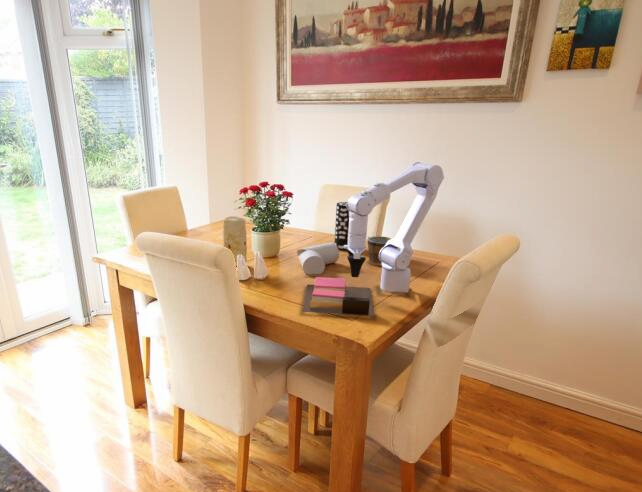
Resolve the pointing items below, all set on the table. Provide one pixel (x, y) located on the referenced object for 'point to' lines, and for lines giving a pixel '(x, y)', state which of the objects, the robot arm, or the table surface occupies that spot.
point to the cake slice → (327, 295)
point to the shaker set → (259, 267)
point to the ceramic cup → (376, 248)
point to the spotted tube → (341, 226)
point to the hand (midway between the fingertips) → (354, 272)
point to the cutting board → (349, 292)
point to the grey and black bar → (344, 305)
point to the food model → (235, 236)
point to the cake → (330, 284)
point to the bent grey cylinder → (317, 257)
